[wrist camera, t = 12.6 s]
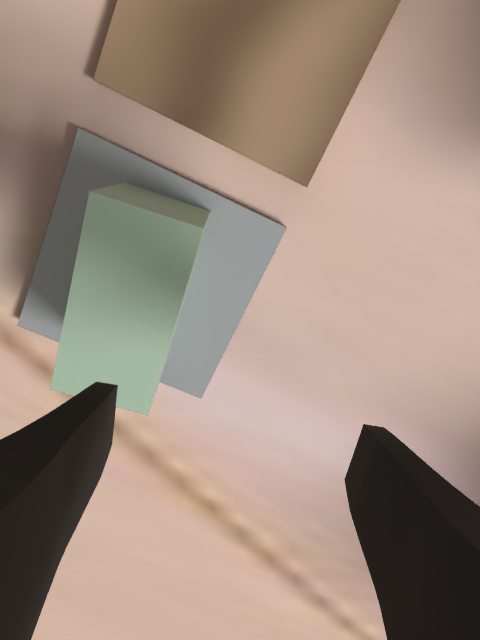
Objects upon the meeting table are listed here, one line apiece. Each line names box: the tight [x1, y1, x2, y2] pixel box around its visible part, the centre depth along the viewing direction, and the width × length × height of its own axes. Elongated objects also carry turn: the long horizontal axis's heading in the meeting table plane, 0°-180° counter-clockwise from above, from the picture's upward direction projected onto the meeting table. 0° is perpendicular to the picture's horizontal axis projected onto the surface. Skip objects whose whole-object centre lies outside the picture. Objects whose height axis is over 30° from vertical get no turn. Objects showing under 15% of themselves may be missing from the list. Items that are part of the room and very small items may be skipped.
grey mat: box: [17, 128, 286, 398], centre depth 21 cm, size 10×10×1 cm
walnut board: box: [93, 0, 400, 187], centre depth 17 cm, size 10×10×1 cm
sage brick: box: [50, 182, 211, 416], centre depth 18 cm, size 4×8×5 cm, turn 162°
